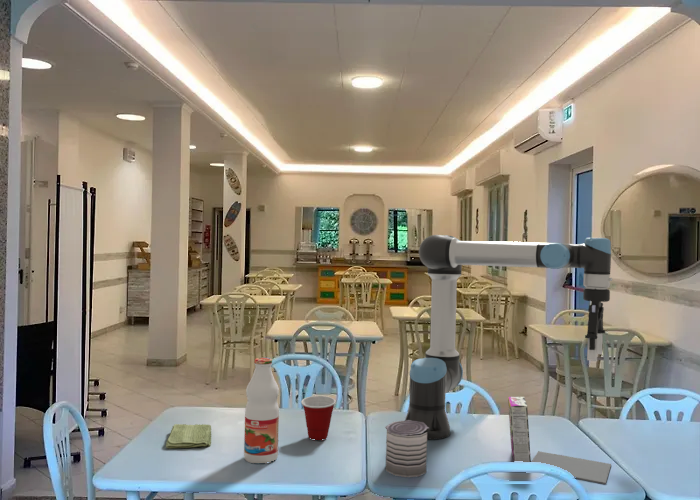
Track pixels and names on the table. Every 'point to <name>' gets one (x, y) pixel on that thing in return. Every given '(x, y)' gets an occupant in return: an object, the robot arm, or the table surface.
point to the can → (406, 448)
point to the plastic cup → (318, 415)
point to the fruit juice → (261, 415)
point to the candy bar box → (519, 429)
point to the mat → (576, 466)
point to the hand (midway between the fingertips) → (594, 357)
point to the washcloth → (189, 436)
